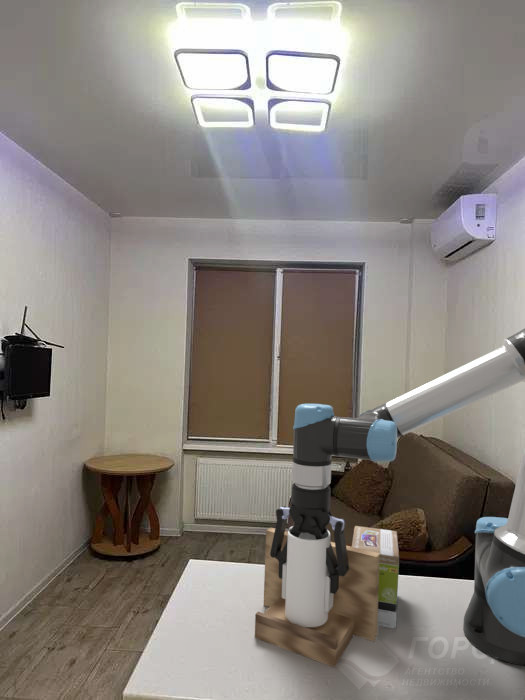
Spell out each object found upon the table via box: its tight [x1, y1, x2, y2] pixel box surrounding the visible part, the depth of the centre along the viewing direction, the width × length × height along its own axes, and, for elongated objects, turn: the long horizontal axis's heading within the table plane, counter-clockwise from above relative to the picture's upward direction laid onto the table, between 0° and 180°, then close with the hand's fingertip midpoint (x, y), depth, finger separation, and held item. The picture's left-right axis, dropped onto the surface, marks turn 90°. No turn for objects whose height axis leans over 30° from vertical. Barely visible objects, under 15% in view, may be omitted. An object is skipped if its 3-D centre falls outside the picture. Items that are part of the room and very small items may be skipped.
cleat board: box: [254, 527, 380, 668], centre depth 89 cm, size 24×13×16 cm, turn 62°
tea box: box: [351, 525, 400, 629], centre depth 100 cm, size 15×10×15 cm, turn 166°
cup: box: [285, 525, 331, 627], centre depth 89 cm, size 8×8×16 cm
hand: (307, 601), depth 89 cm, fingers closed on cup, 8 cm apart
